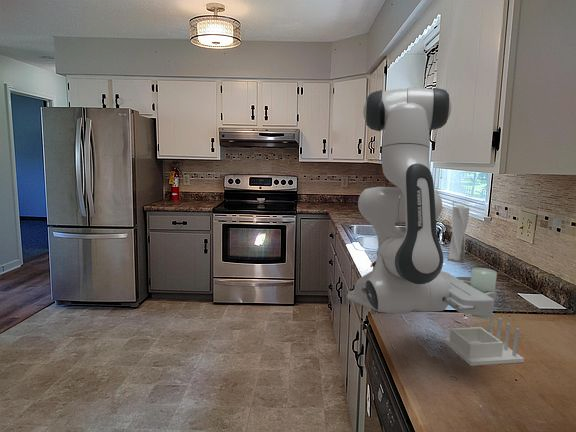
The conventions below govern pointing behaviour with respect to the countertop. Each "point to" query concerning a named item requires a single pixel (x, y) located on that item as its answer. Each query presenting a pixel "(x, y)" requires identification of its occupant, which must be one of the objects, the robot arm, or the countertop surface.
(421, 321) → the countertop surface
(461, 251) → the skyscraper
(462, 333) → the dish rack
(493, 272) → the sage green cylinder
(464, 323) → the countertop surface
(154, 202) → the countertop surface
